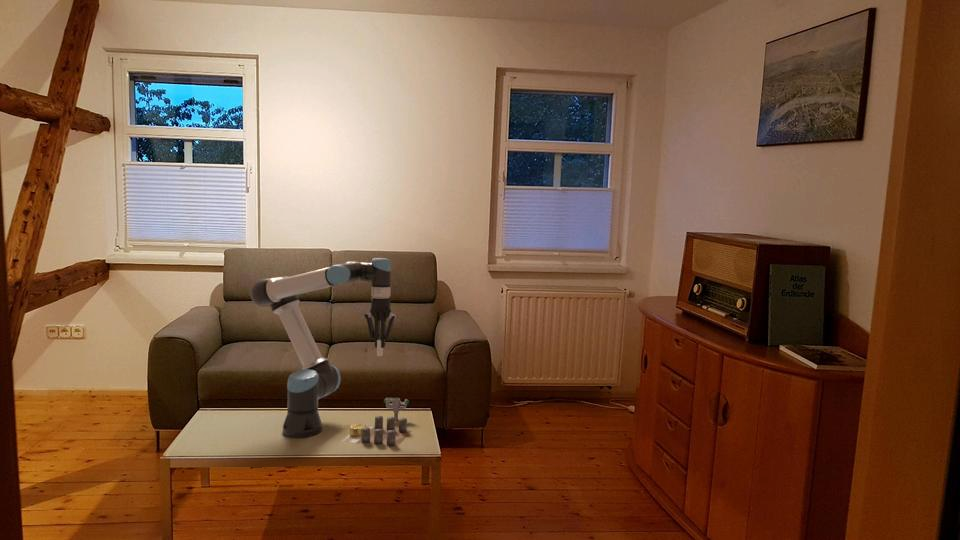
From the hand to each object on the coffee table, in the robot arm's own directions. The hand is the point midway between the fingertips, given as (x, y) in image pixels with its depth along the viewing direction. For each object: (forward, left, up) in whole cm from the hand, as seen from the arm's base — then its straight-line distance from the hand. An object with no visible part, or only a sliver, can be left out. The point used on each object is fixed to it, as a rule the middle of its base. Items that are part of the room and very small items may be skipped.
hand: (379, 355), depth 244 cm
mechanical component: (+4, +10, -31) cm, 32 cm away
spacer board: (+3, -10, -30) cm, 32 cm away
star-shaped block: (-5, -9, -29) cm, 31 cm away
